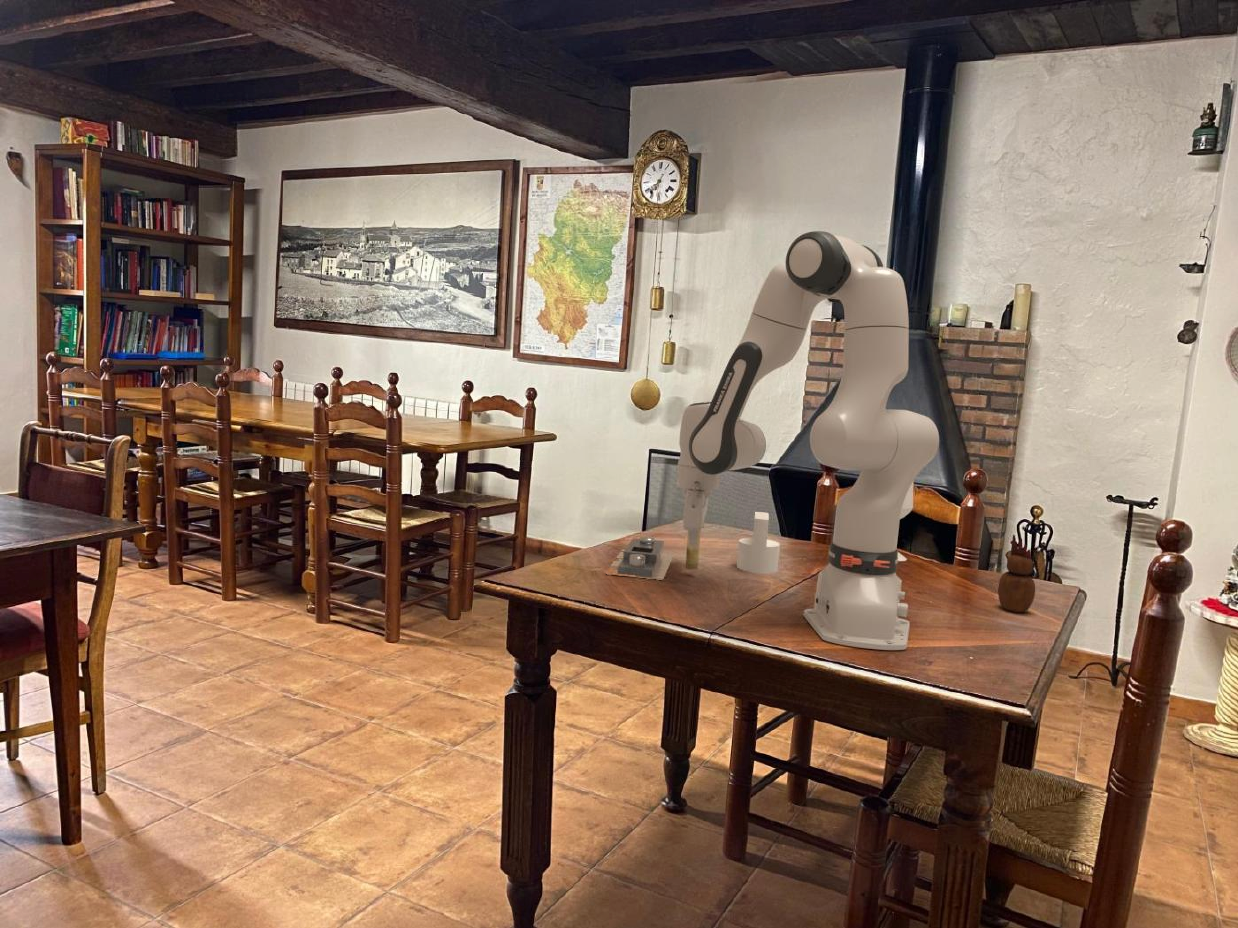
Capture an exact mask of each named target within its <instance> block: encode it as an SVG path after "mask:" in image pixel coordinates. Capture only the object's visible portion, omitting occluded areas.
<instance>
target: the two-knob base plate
mask: <svg viewBox="0 0 1238 928" xmlns="http://www.w3.org/2000/svg"><path fill="white" fill-rule="evenodd" d="M664 547H665V541H664V540H656V539H655V537H653V536H644V535H643V536H640V537H639V538H635V537H633V538H632V539H630V542H629V544H628V545H627V546H626V548H625V549H621V550H620V552H619V553H618V554H617V556H616V557H615V559H616V558H623V559H622V560H621V559H619V561H614V560H613V561H612V562H611V565H610V566H618V570H617V572H616V573H614V572H613V573H614V574H627V575H635V576H636V577H642V578H650V579H657V580H656V581H658V580H663V579H664V580H665V578H664V577H666V575H667V573H668V571H667V570H669V567H670V566H671V564H672V562H673V559H674V557H675V556H674V554H670V553H663V550H664ZM621 551H624V553H623V552H621ZM673 556H674V557H673ZM672 558H673V559H672ZM670 563H671V564H670ZM613 573H612V574H613ZM664 580H663V581H664Z"/></svg>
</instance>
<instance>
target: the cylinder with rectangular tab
mask: <svg viewBox="0 0 1238 928" xmlns="http://www.w3.org/2000/svg"><path fill="white" fill-rule="evenodd" d="M769 516H770V515H769V512H762V511H755V512H754V519H753V520H754V522H753V530H752V531H753V533H752V537H743V538H740V539H739V540H738V548H737V560H736V568H737V569H738V568H739V569H738V570H740V571H743V572H745V573H751V574H760V575H767V574H769V575H770V574H776V573H778V571H779V558H780V547H781V544H780V542H778V541H776V540H772V539H768V535H769V534H768V533H769V524H770V523H769V521H770V519H769V518H770V517H769Z"/></svg>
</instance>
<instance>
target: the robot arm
mask: <svg viewBox="0 0 1238 928" xmlns="http://www.w3.org/2000/svg"><path fill="white" fill-rule="evenodd" d="M907 298H908V297H907V293H906V286H905V282H904V279H903V277H902V276H901V274H900V273H898V272H897V271H895V270H893V269H892V268H888V267H886V266H885V267H884V264H883V261H882V260H881V257H880V256H879V255H878V254H877V252H875V251H874V250H873V249H872V248H870V247H869V246H867V245H863V244H860V243H858V242H856V241H854V240H852V239H851V238H849V237H847V236H844V235H843V236H842V235H839V234H833V233H830V232H827V231H825V230H824V231H822V230H819V231H818V230H817V231H809V232H806V233H803V234H801V235H799V236H798V237H797V238H795V239H794V240H793V242H792V243H791V245H790V246H789V248H788V249H787V253H786V256H785V262H782V263H779V264H777V265H774V267H772V269H770V271H769V272H768V275H767V277H766V278H765V280H764V282H763V284H762V286H761V288H760V290H759V293H758V295H757V298H756V300H755V303H754V306H753V307H752V311H751V315H750V317H749V320H748V323H747V325H746V328H745V331H744V333H743V335H742V338H741V340H740V342H739V343H738V345H737V347H736V348H735V350H734V352H733V353H732V355H731V356H730V358H729V360H728V363H727V365H726V367H725V369H724V371H723V374H722V375H721V379H720V381H719V383H718V385H717V388H716V390H715V391H714V395H713V397H712V399H711V401H707V402H696V403H690V404H689V405H688V406H686V407H685V409H684V411H683V413H682V417H681V423H680V429H679V440H678V441H679V444H678V445H679V448H680V456H679V459H678V461H677V473H676V486H677V488H681V490H682V491H681V494H682V495H683V496H684V497H685V501H684V510H683V511H684V512H683V525H682V526H683V529H684V530H685V531H687V533H688V532H689V544H688V545H689V546H690V547H696V546H697V543H698V533H699V531H700V532H701V530H702V529H703V528H702V525H703V522H704V523H705V518H706V515H707V511H708V507H709V501H710V498H711V497H713V491H716V490H719V488H720V476H721V475H720V474H721V473H724V472H725V473H726V472H728V471H737V470H741V469H747V468H750V467H754V466H756V465H758V464H759V463H760V462H761V460H762V459H763V458H764V456H765V452H766V445H767V441H766V437H765V435H764V431H762V429H761V428H760V427H759V426H758V425H756V424H755V423H751V422H749V421H747V420H744V419H741V417H742V414H743V412H744V410H745V407H746V405H747V402H748V400H749V398H750V395H751V393H752V391H753V389H754V388H755V386H756V385H757V384H758V383H759V382H760V381H762V379H763V378H764V377H766V376H767V375H768V374H770V373H772V372H773V371H775V370H777V369H779V368H781V367H783V366H785V365H787V364H789V363H790V362H791V361H792V360H793V359H794V358H795V356H796V355H797V353H798V352H799V350H800V348H801V346H802V343H803V341H804V338H805V336H806V333H807V329H808V327H809V323H810V320H811V317H812V314H813V312H814V311H815V308H816V307H817V306H818V304H820V303H821V302H822V301H825V300H827V301H828V302H829V303H841V304H842V306H843V311H844V312H843V313H844V325H843V328H844V329H843V358H842V359H843V360H842V361H843V363H842V372H841V378H840V383H839V385H838V388H837V390H836V392H835V395H834V397H833V399H832V401H831V403H830V404H829V405H828V407H826V409H825V410H824V411H823V412H822V413H821V414H820V415H819V416H817V418H815V420H814V422H813V424H812V426H811V429H810V432H809V444H810V450H811V452H812V454H813V456H814V458H815V459H816V461H818V462H819V463H820V464H821V465H823V466H827V467H830V468H834V469H838V470H842V471H860V473H859V476H858V478H857V480H856V481H855V483H854V484H853V486H852V487H851V488H850V489H849V490H847V491H845V492H844V493H843V494H842V495H841V496H840V497H839V498H838V501H837V503H836V506H835V507H836V508H835V517H834V518H835V519H834V527H833V536H832V541H831V542H830V544H829V548H828V562H829V563H828V564H827V565H826V567H824V568H823V569H822V570H821V571H819V572H818V574H817V575H818V577H817V583H816V590H815V591H816V592H815V596H814V597H815V598H814V606H813V608H806V609H804V610H803V611H804V612H803V617H804V618H805V620H806V621H807V622H808V623H809V625H810V626H811V627H812V628H813V630H814V631H815V632H816V633H817V634H818V635H819V637H820V638H821V639H822V640H823V641H825V642H829V643H833V644H836V645H837V644H838V645H841V646H847V647H853V648H861V649H868V650H869V649H872V650H881V651H904V650H907V647H908V642H909V640H908V639H909V635H910V634H909V633H910V629H911V628H910V627H911V625H910V623H911V621H909V620H907V619H904V618H905V617H907V616H908V609H909V603H907V602H906V603H905V602H900V600H905V598H906V592H905V591H902V579H901V578H900V577H899V576H898V575H897V570H898V563H899V561H898V552H899V551H898V549H897V548H896V542H897V543H898V539H897V534H898V535H899V530H898V527H899V528H900V521H899V520H901V519H900V514H901V509H902V506H903V502H904V500H905V497H906V495H907V492H908V490H909V488H910V486H911V484H912V482H913V481H915V478H917V476H918V475H919V473H920V472H921V471H922V469H924V468H925V467H926V466H927V465H928V464H929V463H930V462H932V461H933V460H934V458H935V457H936V455H937V453H938V451H939V446H940V435H939V430H938V428H937V425H936V424H935V422H934V421H933V420H932V419H931V418H930V417H928V416H926V415H923V414H920V413H917V412H914V411H910V410H907V409H887V403H888V400H889V397H890V393H891V391H892V389H893V388H894V387H895V386H896V385H897V384H899V383H901V382H902V381H903V380H904V379H905V378H906V376H907V374H908V371H909V351H910V350H909V348H910V347H909V345H910V344H909V343H910V342H909V340H910V339H909V336H910V335H909V334H910V332H909V331H910V329H909V328H910V324H909V323H910V322H909V321H910V320H909V307H908V306H909V305H908V299H907ZM900 617H903V618H900Z"/></svg>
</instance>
